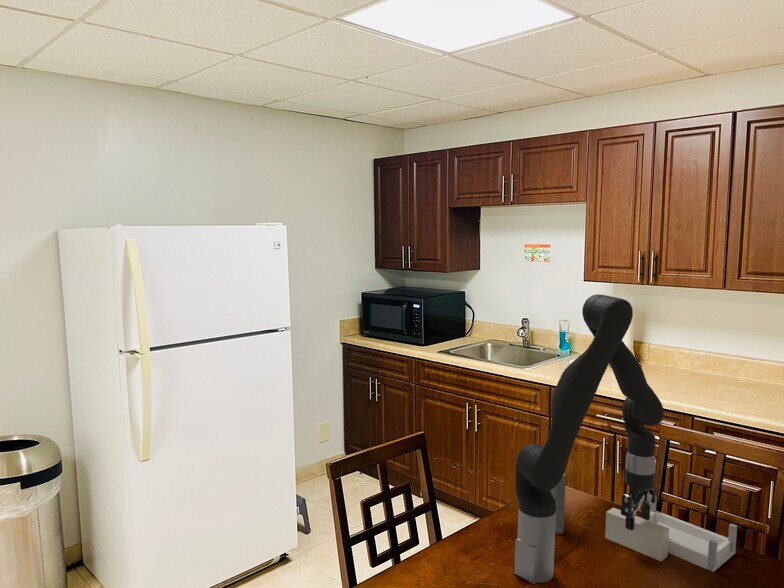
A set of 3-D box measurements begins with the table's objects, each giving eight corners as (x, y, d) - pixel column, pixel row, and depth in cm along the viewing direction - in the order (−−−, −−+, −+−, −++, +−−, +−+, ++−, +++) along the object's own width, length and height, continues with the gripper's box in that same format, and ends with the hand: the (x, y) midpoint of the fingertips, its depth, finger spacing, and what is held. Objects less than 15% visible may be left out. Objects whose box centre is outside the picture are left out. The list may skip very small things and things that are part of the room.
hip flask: (565, 533, 172) (567, 467, 169) (551, 533, 172) (553, 467, 169) (549, 507, 187) (551, 447, 185) (536, 507, 187) (538, 447, 185)
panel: (661, 562, 158) (662, 533, 157) (605, 538, 169) (606, 511, 169) (667, 556, 160) (669, 528, 159) (611, 533, 172) (613, 507, 171)
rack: (713, 572, 153) (715, 543, 152) (626, 534, 171) (627, 508, 170) (735, 553, 162) (737, 525, 161) (650, 519, 180) (651, 494, 179)
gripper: (639, 479, 155) (637, 538, 157) (666, 465, 164) (663, 520, 166) (613, 470, 161) (611, 527, 163) (640, 457, 169) (638, 511, 171)
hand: (637, 524), depth 164 cm, fingers open, 8 cm apart
